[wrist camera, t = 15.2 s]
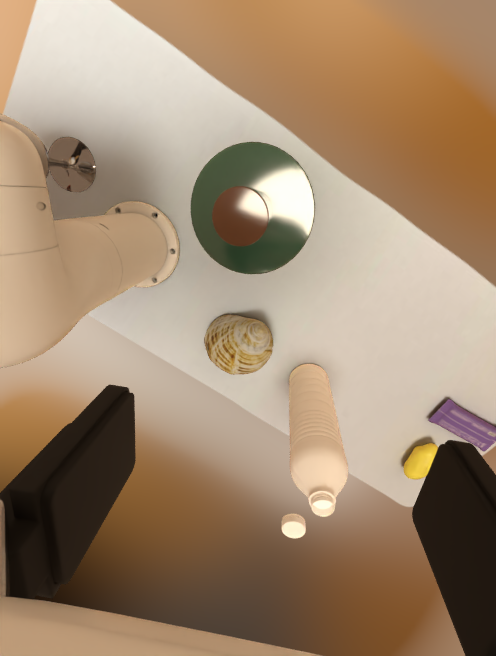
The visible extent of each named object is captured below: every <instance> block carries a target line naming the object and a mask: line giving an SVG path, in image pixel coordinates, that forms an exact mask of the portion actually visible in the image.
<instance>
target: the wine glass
mask: <svg viewBox="0 0 496 656" xmlns="http://www.w3.org/2000/svg"><path fill="white" fill-rule="evenodd" d="M0 121H2V122H5V123H7V124H9V125H12V126H14V127H15V128H17V129H18V130H20V131H21V132H23V133H24V134H25V135H26V136H27V137H28V138H29V139H30V140H31V141H32V143H33V144H34V146H35V148H36V149H37V152H38V154H39V156H40V159H41V162H42V166H43V170H44V174H45V179H46V178H47V176H48V173H49V170H50V172H51V175H52V176H53V178H54V179H55V181H56V182H57V183H58V184H59V185H60V186H61V187H63V188H64V189H66V190H68V191H71V192H82V191H84V190H86V189H88V188H89V187H90V186H91V184H92V183H93V181H94V178H95V172H96V167H95V161H94V158H93V156H92V154H91V152H90V151H89V149H88V148H87V147H86V146H85V145H84V144H83V143H82V142H81V141H79V140H77V139H75V138H72V137H63V138H60V139H58V140H56V141H55V142H54V143H53V144H52V146H51V147H50V150H49V153H47V150H46V148H45V146H44V144H43V142H42V141H41V140H40V138H39V137H38V136H37V135H36V134H35V133H34V132H33V131H31V130H30V129H29V128H27V127H26V126H24V125H23V124H21V123H19V122H18V121H16V120H14V119H12V118H10V117H8V116H6V115H3V114H0Z"/></svg>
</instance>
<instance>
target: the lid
mask: <svg viewBox="0 0 496 656" xmlns="http://www.w3.org/2000/svg"><path fill="white" fill-rule="evenodd" d="M314 214H315V202H314V194H313V191H312V187H311V184H310V182H309V179H308V177H307V175H306V173H305V172H304V170H303V169H302V167H301V166H300V165H299V163H298V162H297V161H296V160H295V159H294V158H293V157H292V156H290V155H289V154H288V153H286V152H285V151H283V150H281V149H280V148H278V147H275V146H273V145H270V144H266V143H261V142H246V143H240V144H236V145H233V146H230V147H228V148H226V149H224V150H223V151H221V152H219V153H218V154H217V155H215V156H214V157H213V158H212V159H211V160H210V161H209V162H208V163H207V164H206V165H205V167H204V168H203V170H202V171H201V172H200V174H199V176H198V178H197V180H196V183H195V186H194V189H193V193H192V198H191V218H192V224H193V227H194V231H195V233H196V236H197V238H198V240H199V242H200V244H201V245H202V247H203V248H204V250H205V251H206V252H207V253H208V254H209V255H210V257H211V258H213V259H214V260H215V261H216V262H217V263H219V264H220V265H222V266H224V267H226V268H228V269H230V270H232V271H235V272H239V273H244V274H262V273H267V272H270V271H273V270H276V269H278V268H280V267H282V266H283V265H285V264H287V263H288V262H289V261H290V260H292V259H293V258H294V257H295V256H296V255H297V254H298V253H299V252H300V250H301V249H302V247H303V246H304V245H305V243H306V241H307V239H308V237H309V235H310V232H311V229H312V226H313V222H314Z"/></svg>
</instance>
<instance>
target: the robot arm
mask: <svg viewBox="0 0 496 656" xmlns="http://www.w3.org/2000/svg"><path fill="white" fill-rule="evenodd" d="M119 209H120V210H121V212H120V211H119ZM156 213H157V214H158V217H156ZM173 249H175V252H173ZM179 251H180V247H179V240H178V236H177V233H176V231H175V229H174V227H173V225H172V223H171V222H170V220H169V219H168V218H167V217H166V216H165V215H164V214H163V213H162V212H161V211H160V210H158V209H157V208H155V207H154V206H151V205H149V204H147V203H143V202H138V201H129V202H123V203H120V204H117V205H115V206H113V207H112V208H110V209H109V210H108V211H107V212H106V213H105V214H104V215H102V216H92V217H81V218H70V219H60V220H55V221H54V220H53V215H52V209H51V204H50V199H49V193H48V188H47V184H46V179H45V174H44V170H43V166H42V162H41V159H40V156H39V154H38V152H37V149H36V148H35V146H34V144H33V143H32V141H31V140H30V139H29V138H28V137H27V136H26V135H25V134H24V133H23V132H21V131H20V130H18V129H17V128H15V127H14V126H12V125H9V124H7V123H5V122H2V121H0V368H3V367H9V366H13V365H16V364H20V363H23V362H26V361H28V360H31V359H33V358H35V357H37V356H39V355H41V354H43V353H44V352H46V351H47V350H49V349H50V348H52V347H53V346H54V345H56V344H57V343H58V342H59V341H61V340H62V339H63V338H64V337H65V336H66V335H67V334H68V332H70V331H71V329H72V328H73V327H74V326H75V325H76V324H77V322H78V321H79V320H80V319H81V318H82V317H83V316H85V315H86V314H87V313H89V312H90V311H92V310H93V309H95V308H96V307H98V306H100V305H101V304H103V303H105V302H107V301H109V300H111V299H112V298H114V297H116V296H118V295H119V294H121V293H123V292H124V291H126V290H128V289H130V288H131V287H133V286H135V287H151V286H154V285H157V284H159V283H161V282H163V281H164V280H165V279H167V278H168V277H169V276H170V275H171V274H172V272H173V271H174V269H175V267H176V265H177V262H178V259H179ZM155 278H156V279H157V280H155ZM134 464H135V411H134V394H133V393H129V389H128V388H127V387H122V386H116V385H108V386H107V387H106V388H105V389H104V390H103V391H102V392H101V393H100V394H99V395H98V396H97V397H96V398H95V399H94V400H93V401H92V402H91V403H90V404H89V405H88V406H87V407H86V409H84V411H83V412H82V413H81V414H80V415H79V416H78V417H77V418H76V419H75V420H74V421H73V422H72V423H70V424H68V425H67V426H65V427H64V428H63V429H62V430H61V431H60V432H59V433H58V434H57V435H56V436H55V437H54V438H53V439H52V440H51V441H50V443H48V445H46V447H45V448H44V449H43V450H42V451H41V452H40V453H39V454H38V455H37V456H36V457H35V458H34V459H33V460H32V461H31V462H30V463H29V464H28V465H27V466H26V467H25V468H24V469H23V470H22V471H21V472H20V473H19V474H18V475H17V476H16V477H15V478H14V479H13V480H12V481H11V483H9V484H8V485H7V486H6V488H5V489H4V490H3V491H2V492H1V493H0V656H321V655H317V654H312V653H307V652H302V651H297V650H293V649H288V648H283V647H278V646H273V645H268V644H263V643H258V642H253V641H249V640H244V639H239V638H234V637H229V636H224V635H220V634H215V633H209V632H205V631H200V630H195V629H189V628H185V627H180V626H174V625H170V624H165V623H160V622H155V621H149V620H144V619H140V618H135V617H129V616H124V615H120V614H115V613H109V612H104V611H98V610H93V609H87V608H81V607H76V606H70V605H65V604H59V603H53V602H48V601H40V600H33V599H34V598H35V596H36V595H38V596H43V597H48V598H53V597H54V595H55V594H56V592H57V590H58V589H59V587H60V585H61V584H67V583H68V582H69V581H70V579H71V578H72V576H73V574H74V573H75V571H76V569H77V567H78V566H79V564H80V562H81V560H82V559H83V557H84V555H85V553H86V551H87V550H88V548H89V546H90V544H91V543H92V540H93V539H94V537H95V536H96V534H97V532H98V530H99V529H100V527H101V525H102V523H103V522H104V520H105V518H106V516H107V515H108V513H109V511H110V509H111V508H112V505H113V504H114V502H115V500H116V499H117V497H118V495H119V494H120V492H121V490H122V488H123V486H124V485H125V483H126V481H127V480H128V478H129V476H130V474H131V472H132V470H133V468H134ZM412 515H413V516H412V517H413V522H414V524H415V527H416V530H417V532H418V535H419V537H420V540H421V542H422V545H423V547H424V550H425V553H426V555H427V558H428V560H429V563H430V565H431V568H432V571H433V573H434V576H435V578H436V581H437V584H438V586H439V589H440V591H441V594H442V597H443V599H444V602H445V604H446V607H447V609H448V612H449V615H450V617H451V620H452V622H453V625H454V627H455V630H456V632H457V635H458V638H459V640H460V643H461V645H462V648H463V651H464V653H465V656H496V475H495V473H494V472H493V471H492V469H491V468H490V467H489V465H488V464H487V463H486V461H485V460H484V459H483V457H482V456H481V455H480V453H479V452H478V451H477V449H476V448H475V447H474V446H473V445H472V444H470V443H465V442H459V441H453V440H448V441H447V442H446V443H445V444H441V445H440V446H439V448H438V450H437V452H436V455H435V457H434V460H433V462H432V464H431V467H430V469H429V471H428V474H427V476H426V479H425V481H424V483H423V486H422V488H421V491H420V493H419V495H418V498H417V500H416V502H415V505H414V507H413V512H412Z"/></svg>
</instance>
